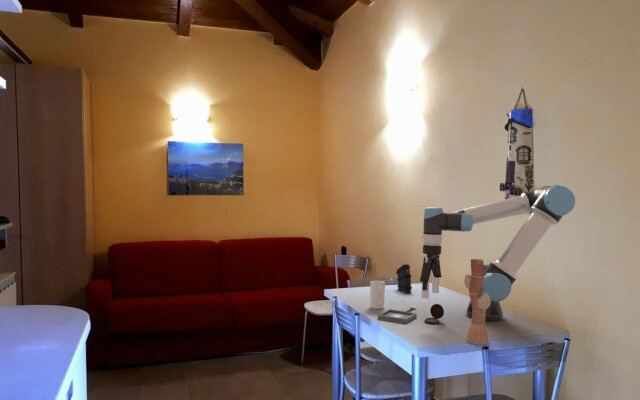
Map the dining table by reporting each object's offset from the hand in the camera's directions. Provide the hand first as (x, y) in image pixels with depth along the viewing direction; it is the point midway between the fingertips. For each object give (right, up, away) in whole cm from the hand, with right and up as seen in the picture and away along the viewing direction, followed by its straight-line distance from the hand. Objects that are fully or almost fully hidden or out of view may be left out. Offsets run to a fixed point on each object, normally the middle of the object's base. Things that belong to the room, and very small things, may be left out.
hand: (430, 295), depth 201 cm
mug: (-19, -11, +23) cm, 32 cm away
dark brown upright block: (0, -11, +64) cm, 65 cm away
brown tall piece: (+11, -12, -25) cm, 30 cm away
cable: (-6, -11, +17) cm, 21 cm away
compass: (+2, -12, 0) cm, 12 cm away
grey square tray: (-13, -11, +6) cm, 18 cm away
